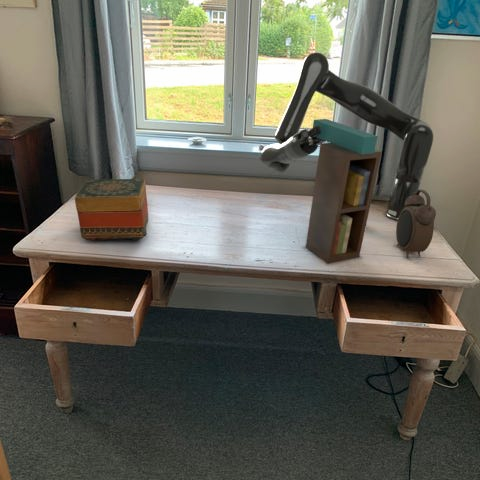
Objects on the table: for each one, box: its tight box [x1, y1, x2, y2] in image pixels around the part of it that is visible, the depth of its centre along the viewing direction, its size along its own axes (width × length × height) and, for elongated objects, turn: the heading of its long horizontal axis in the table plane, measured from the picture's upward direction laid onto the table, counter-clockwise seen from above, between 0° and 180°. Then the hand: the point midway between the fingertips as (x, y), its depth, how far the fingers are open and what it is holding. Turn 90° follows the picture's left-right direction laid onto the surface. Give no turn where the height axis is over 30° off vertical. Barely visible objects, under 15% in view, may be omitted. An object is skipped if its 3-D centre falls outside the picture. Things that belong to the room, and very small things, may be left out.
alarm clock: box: [395, 189, 437, 259], centre depth 148 cm, size 14×7×20 cm, turn 5°
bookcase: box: [305, 142, 383, 265], centre depth 142 cm, size 12×12×32 cm
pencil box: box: [312, 118, 378, 155], centre depth 134 cm, size 22×5×4 cm, turn 30°
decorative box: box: [74, 178, 149, 242], centre depth 149 cm, size 20×22×16 cm
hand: (331, 128), depth 138 cm, fingers open, 8 cm apart
